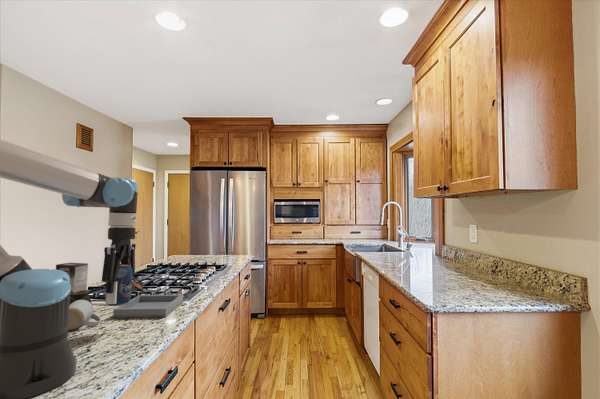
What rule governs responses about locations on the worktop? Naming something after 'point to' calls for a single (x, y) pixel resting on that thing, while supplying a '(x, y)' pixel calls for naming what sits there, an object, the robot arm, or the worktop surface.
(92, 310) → the ceramic mug
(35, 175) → the robot arm
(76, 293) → the mate gourd
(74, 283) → the coffee box
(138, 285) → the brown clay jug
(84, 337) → the worktop surface
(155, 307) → the tray
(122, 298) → the soda can
